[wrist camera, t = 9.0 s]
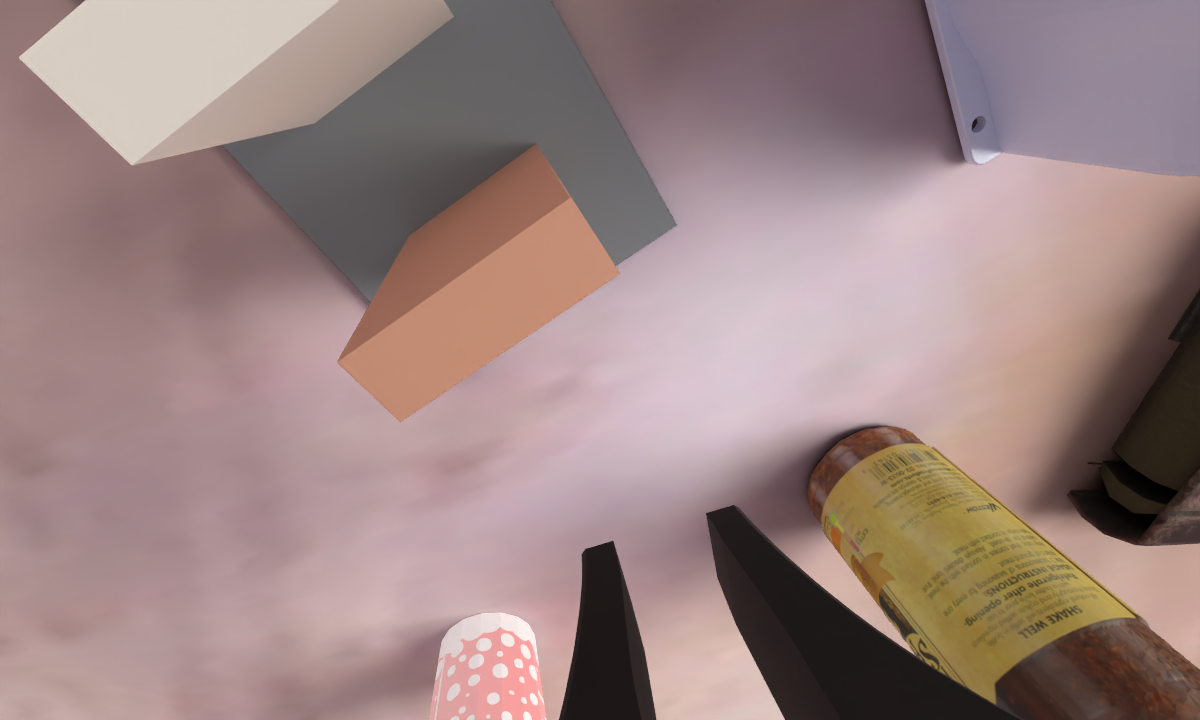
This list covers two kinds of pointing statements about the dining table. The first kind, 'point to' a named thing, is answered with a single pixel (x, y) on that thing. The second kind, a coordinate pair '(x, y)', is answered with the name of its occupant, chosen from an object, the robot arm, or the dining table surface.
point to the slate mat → (457, 141)
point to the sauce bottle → (990, 590)
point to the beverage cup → (488, 671)
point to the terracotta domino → (475, 285)
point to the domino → (220, 65)
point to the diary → (1156, 456)
